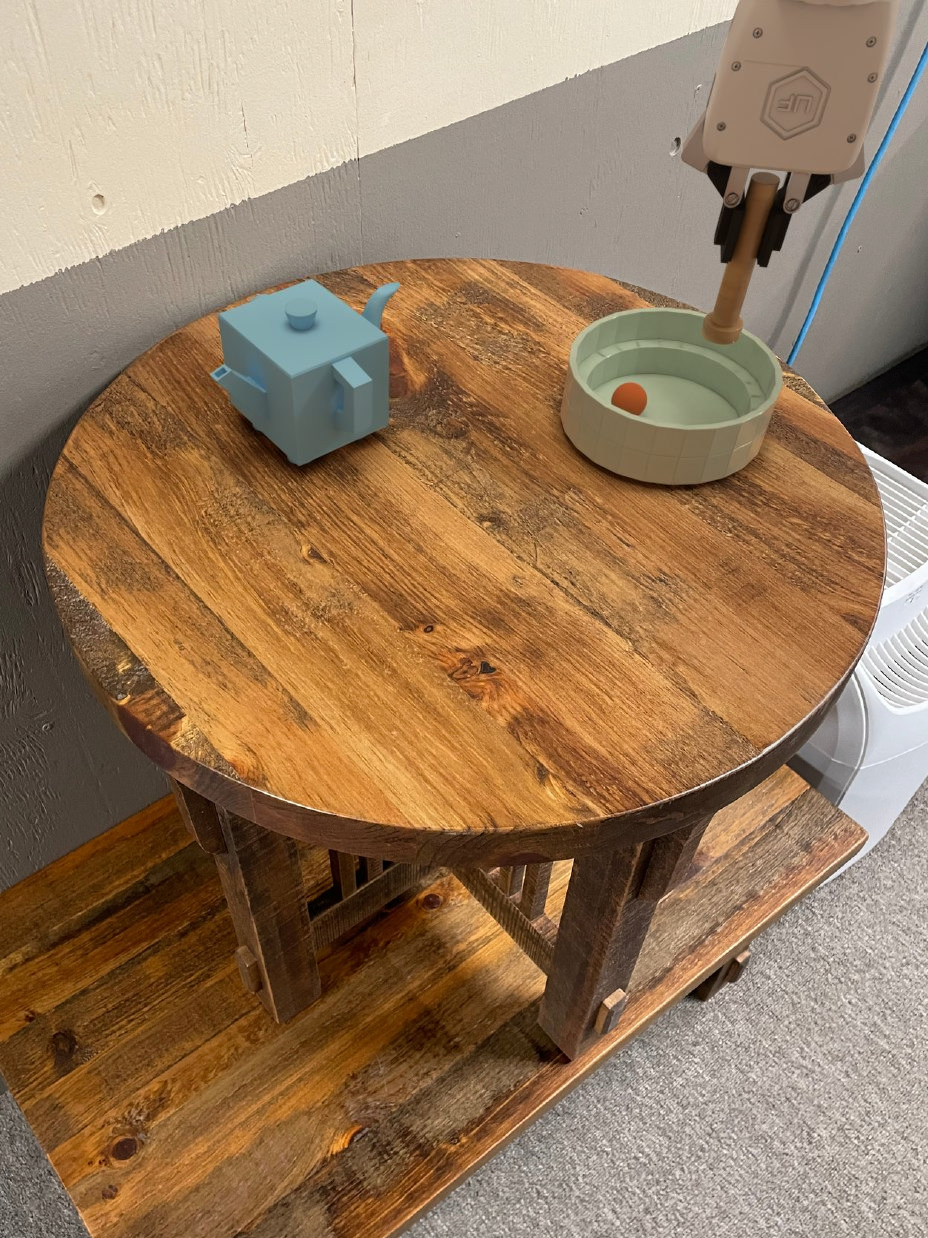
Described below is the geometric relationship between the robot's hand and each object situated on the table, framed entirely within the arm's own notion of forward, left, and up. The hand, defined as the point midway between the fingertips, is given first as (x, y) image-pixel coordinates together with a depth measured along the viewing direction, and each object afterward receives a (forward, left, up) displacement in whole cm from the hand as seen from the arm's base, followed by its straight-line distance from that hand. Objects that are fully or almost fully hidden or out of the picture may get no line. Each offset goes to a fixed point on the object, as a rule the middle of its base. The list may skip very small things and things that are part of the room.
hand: (743, 254), depth 74 cm
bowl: (+3, 0, -15) cm, 16 cm away
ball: (+6, 0, -13) cm, 15 cm away
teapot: (+32, +6, -16) cm, 36 cm away
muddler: (0, 0, -7) cm, 7 cm away
